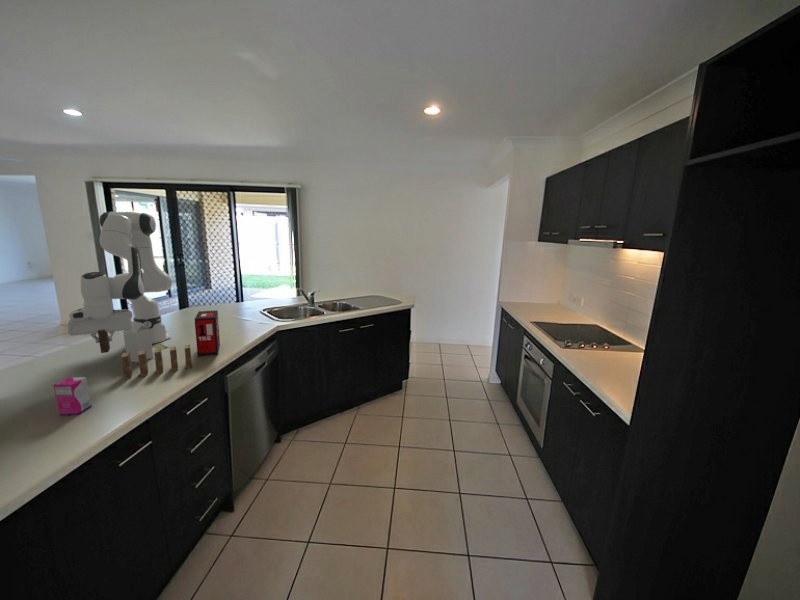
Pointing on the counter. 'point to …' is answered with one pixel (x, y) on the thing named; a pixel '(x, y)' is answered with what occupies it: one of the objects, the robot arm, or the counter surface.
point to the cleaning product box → (207, 333)
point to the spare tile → (103, 341)
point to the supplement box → (72, 396)
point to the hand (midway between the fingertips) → (104, 341)
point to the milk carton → (138, 341)
